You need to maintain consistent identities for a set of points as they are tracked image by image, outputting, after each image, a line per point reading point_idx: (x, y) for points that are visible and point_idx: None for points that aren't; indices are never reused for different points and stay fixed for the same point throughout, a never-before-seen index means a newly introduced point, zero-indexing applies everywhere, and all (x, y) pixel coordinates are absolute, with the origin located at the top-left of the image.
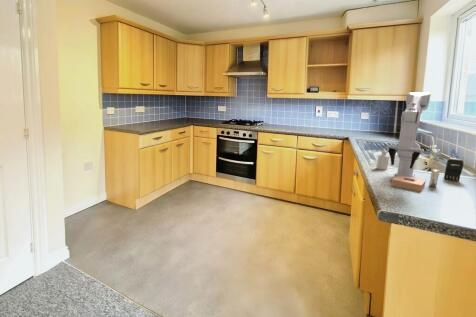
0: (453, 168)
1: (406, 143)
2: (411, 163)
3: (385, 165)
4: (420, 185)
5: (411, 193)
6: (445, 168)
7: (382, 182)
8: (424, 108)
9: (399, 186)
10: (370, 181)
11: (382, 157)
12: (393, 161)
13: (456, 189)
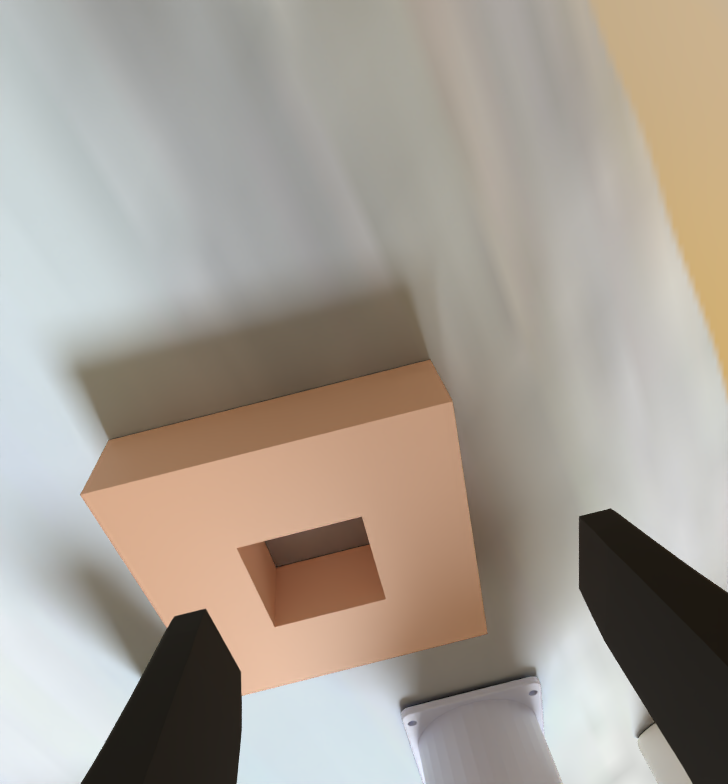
0: None
1: None
2: (138, 741)
3: (672, 768)
4: (97, 486)
5: (103, 262)
6: None
7: (549, 373)
8: None
9: (339, 385)
10: (678, 271)
11: None
12: (634, 622)
13: (33, 753)
